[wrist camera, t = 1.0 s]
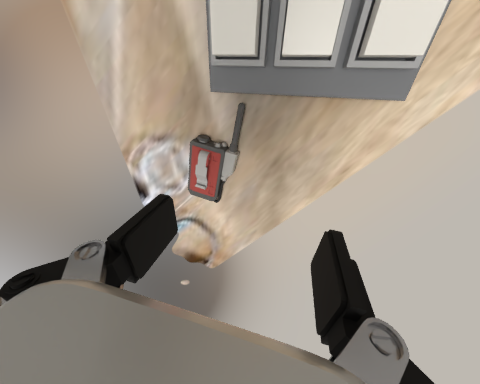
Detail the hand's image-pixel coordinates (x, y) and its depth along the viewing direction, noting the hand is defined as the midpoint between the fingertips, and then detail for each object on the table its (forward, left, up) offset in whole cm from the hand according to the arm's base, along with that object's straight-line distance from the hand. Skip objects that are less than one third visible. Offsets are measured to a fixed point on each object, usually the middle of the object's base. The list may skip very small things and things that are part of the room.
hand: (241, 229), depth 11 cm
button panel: (-13, +3, -22) cm, 26 cm away
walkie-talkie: (+4, -10, -23) cm, 26 cm away
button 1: (-13, -5, -19) cm, 23 cm away
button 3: (-13, +11, -19) cm, 25 cm away
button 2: (-13, +2, -18) cm, 23 cm away
